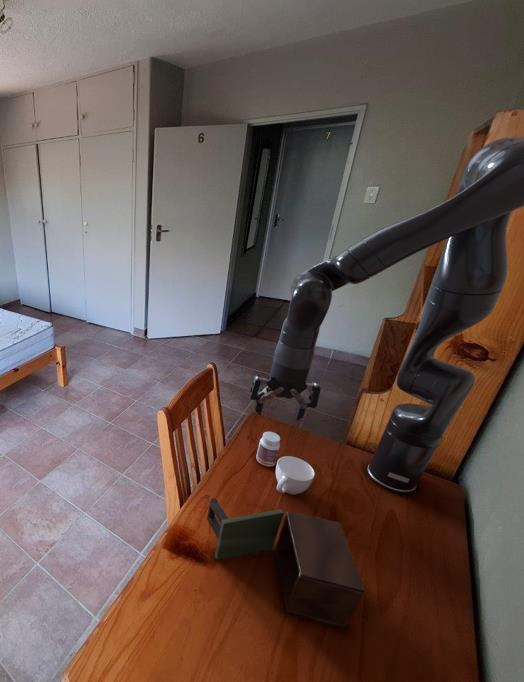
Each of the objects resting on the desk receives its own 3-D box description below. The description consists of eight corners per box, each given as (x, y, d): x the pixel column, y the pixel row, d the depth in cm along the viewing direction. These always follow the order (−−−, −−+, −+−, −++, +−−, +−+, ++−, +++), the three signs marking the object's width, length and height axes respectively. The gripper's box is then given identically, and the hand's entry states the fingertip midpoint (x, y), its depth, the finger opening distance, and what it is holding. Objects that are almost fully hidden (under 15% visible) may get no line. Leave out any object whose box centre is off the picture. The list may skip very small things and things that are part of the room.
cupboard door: (200, 529, 80) (206, 494, 75) (252, 519, 82) (261, 484, 77) (216, 559, 74) (224, 523, 69) (272, 548, 76) (284, 512, 71)
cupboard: (286, 612, 65) (301, 574, 60) (274, 548, 76) (286, 511, 71) (344, 629, 63) (365, 590, 57) (324, 560, 73) (340, 522, 68)
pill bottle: (277, 467, 95) (284, 443, 91) (258, 465, 96) (264, 441, 92) (272, 454, 99) (278, 431, 95) (253, 453, 100) (259, 429, 96)
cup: (314, 490, 88) (321, 470, 85) (291, 511, 83) (297, 490, 80) (282, 471, 94) (288, 451, 91) (260, 488, 89) (265, 469, 86)
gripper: (260, 363, 82) (248, 420, 89) (333, 371, 78) (314, 430, 85) (256, 348, 88) (244, 402, 95) (323, 355, 84) (306, 411, 91)
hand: (277, 415), depth 90 cm, fingers open, 8 cm apart
